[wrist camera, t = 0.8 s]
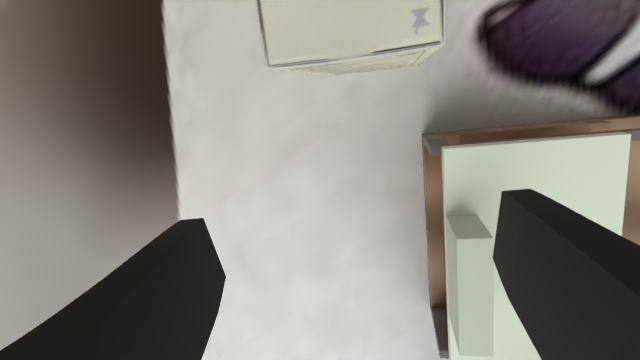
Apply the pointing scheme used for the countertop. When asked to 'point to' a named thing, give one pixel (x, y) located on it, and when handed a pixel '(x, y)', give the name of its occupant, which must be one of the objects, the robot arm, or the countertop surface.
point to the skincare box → (349, 34)
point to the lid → (482, 216)
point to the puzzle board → (636, 210)
